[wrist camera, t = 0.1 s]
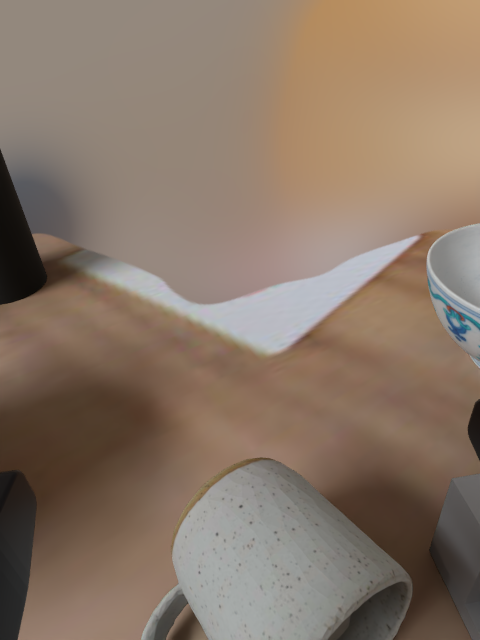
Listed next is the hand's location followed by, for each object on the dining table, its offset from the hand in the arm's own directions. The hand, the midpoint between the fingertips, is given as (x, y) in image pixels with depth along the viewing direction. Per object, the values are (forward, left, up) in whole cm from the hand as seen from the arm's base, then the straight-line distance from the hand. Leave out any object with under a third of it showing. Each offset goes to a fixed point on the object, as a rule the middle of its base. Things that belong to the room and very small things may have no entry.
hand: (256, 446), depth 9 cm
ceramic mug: (+3, 0, -17) cm, 17 cm away
